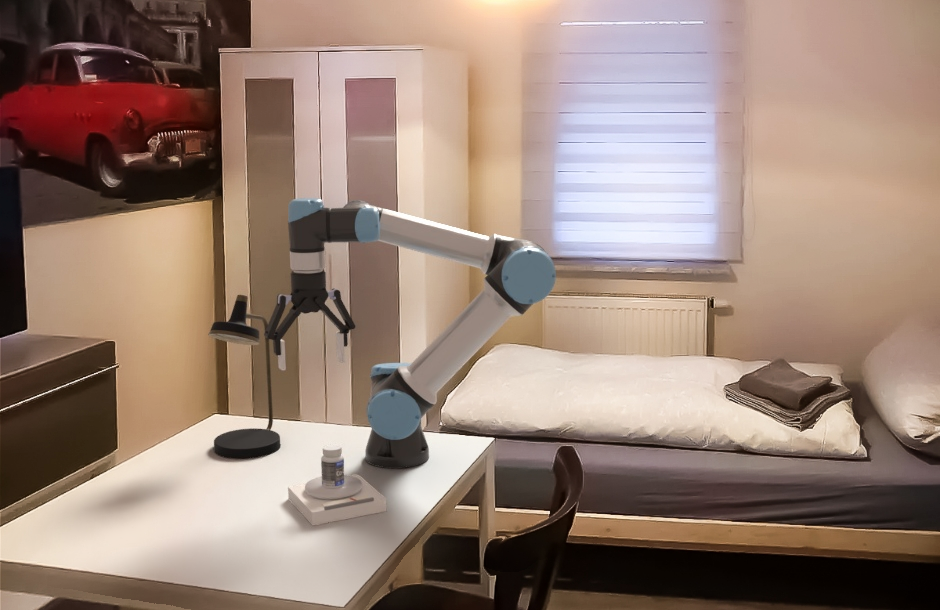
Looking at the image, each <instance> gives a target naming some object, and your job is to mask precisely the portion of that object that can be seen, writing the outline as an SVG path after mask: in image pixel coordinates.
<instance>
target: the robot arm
mask: <svg viewBox="0 0 940 610" xmlns="http://www.w3.org/2000/svg"><path fill="white" fill-rule="evenodd" d="M287 207H288V209H287V211H288V214H287V215H288V217H287V225H288V227H287V228H288V244H289V261H290V263H289V265H290V269H291V270H292V271H291V273H290V287H291V291H290V294H282V293H278V294H277V296H276V305H275V307H274V309H273V312H272V315H271V317H270V319H269V322H267V323H268V326H267V328H266V331H265V330H264V334H263V335H264V338H265V337H266V338H268V339H269V340H272V344H273V345H272V346H273V354H274V355H275V356H277V361H278V362H277V364H278V366H277V367H278V369H279V370H281V371H286V370H287V367H286V366H287V365H286V363H287V362H286V347H285V346H286V344H285V343H286V341H285V340H284V339H283V338H284V336H285V335H286V333H287V332H288V330H289V328H291V326H292V325H293V323H294V322H295V321H296V319H297V318H298V317H300V316H301V314H309V313H318V312H319V311H321V313H323V314H324V316H325V317H327V319H328V320H329V321H330V322H331V323H332V324H333V325H334V326H335V328H336V329H338V330H339V331H335V339H336V340H335V347H336V349H335V350H336V361H338V362H339V363H345V348H346V347H348V342H349V341H348V340H349V339H348V334H349V333H350V331H351V330H355V328H356V325H355V322H354V321H353V319H352V316H351V314H350V313H349V311H348V309H347V308H346V306H345V304H344V302H343V300H342V296H341V295H342V294H341V290H339V289H336V288H332V289H330V290H328V291H327V280H326V279H327V278H326V277H327V276H326V275H327V274H326V271H325V270H324V269H325V268H326V253H325V252H326V250H325V247H326V246H325V243H328V244H330V243H361V244H365V243H374V242H377V241H378V242H381V243H383V244H388V245H392V246H396V247H399V248H402V249H403V248H404V249H407V250H411V251H414V252H418V253H421V254H425V255H429V256H433V257H436V258H440V259H444V260H448V261H451V262H456V263H458V264H462V265H465V266H470V267H473V268H477V269H480V271H481V273H482V274H483V275H485V277H484V279H483V288H482V290H481V291H480V292H479V293H478V294H477V295H476V296H475V298H473V299H472V301H471V302H470V303H468V305H466V306H465V308H463V310H462V311H461V312H460V313H459V314H458V315H456V317H455V318H454V319H453V320H452V321H451V322H450V323H449V324H448V325H447V326H446V327H445V328H444V329H443V330H442V331H441V332H440V333H439V334H438V336H436V338H435V339H433V341H432V342H431V343H430V344H429V345H427V347H426V348H424V349H423V351H422V352H421V353H420V354H419V355H418V356H416V358H415V359H414V360H413V361H412V362H411V363H410V362H385V363H377V364H374V365H373V366H372V367H371V370H370V376H369V378H370V395H369V400H368V403H367V405H366V416H367V420H368V424H369V426H370V427H371V431H370V434H369V437H368V440H367V444H366V446H365V461H366V462H367V463H368V464H370V465H373V466H376V467H379V468H384V469H385V468H386V469H404V468H411V467H415V466H419V465H422V464H423V463H425V462H427V461H428V460H429V458H430V449H429V445H428V442H427V439H426V435H425V433H424V430H423V428H422V418H423V417H424V416H425V415H426V414H427V413H429V411H430V410H431V409H432V408H433V407H434V406H435V405H436V404H437V401H438V400H437V398H438V397H437V396H438V395H437V394H438V392H439V391H440V390H442V388H443V387H444V386H445V385H446V384H447V383H448V382H449V381H450V380H451V379H452V378H453V377H454V375H456V374H457V373H458V372H459V370H461V369H462V368H463V366H464V365H465V364H466V363H468V362H469V360H470V359H471V358H472V357H473V356H475V354H476V353H477V352H479V350H480V349H482V347H483V346H484V345H485V344H486V343H487V342H488V341H489V340H490V339H492V338H491V337H493V336H494V335H495V334H496V333H497V332H498V331H499V330H500V329H501V328H502V326H504V325H505V324H506V322H508V320H509V319H511V318H512V317H517V316H518V317H519V316H523V315H524V314H525V313H526V312H527V311H528V310H529V309H530V308H531V307H532V306H533V304H537V303H540V302H541V301H542V300H544V299H546V298H547V297H548V296H549V295H550V293H551V292H552V290H554V289H553V288H554V286H555V283H556V279H557V278H556V275H557V273H556V271H557V270H556V267H555V264H554V261H553V259H552V257H551V256H550V255H549V254H548V253H547V252H546V251H545V250H544V248H543V247H542V246H541V245H539V244H538V243H536V242H534V241H531V240H526V239H521V238H514V237H510V236H506V235H500V234H496V233H493V234H491V235H490V236H488V235H483V234H479V233H475V232H472V231H468V230H465V229H461V228H458V227H454V226H449V225H447V224H442V223H438V222H435V221H432V220H427V219H424V218H421V217H417V216H413V215H409V214H405V213H403V212H402V213H401V212H397V211H394V210H390V209H386V208H383V207H379V206H375V205H372V204H370V203H367V202H366V201H363V200H358V199H355V200H352V201H349V202H348V203H346V204H345V205H344V206H343V207H325V205H324V201H323V200H322V199H321V198H316V197H314V198H312V197H307V198H306V197H304V198H294V199H292V200H290V201H289V203H288V206H287ZM328 298H329V299H330V300H332V301H333V304H334V305H335V307H336V309H337V311H338V313H339V315H340V316H341V318H342V320H343V322H344V323H343V322H342V321H341V320H340V319H339V318H338V317H337V316H336V315H335V314H334V313H333V311H332V310H331V309H330V308H329V306H328V305H326V301H327V300H328ZM289 302H291V303H292V306H291V307H290V309H289V312H288V313H287V314H286V316H285V317H284V319H283V320H282V322H281V323H280V321H281V319H282V316H283V314H284V312H285V310H286V306H287V305H289ZM279 323H280V324H279Z"/></svg>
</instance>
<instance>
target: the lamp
mask: <svg viewBox="0 0 940 610" xmlns="http://www.w3.org/2000/svg"><path fill="white" fill-rule="evenodd" d="M248 298H249V297H248V296H247V295H243V294H237V296H236V298H235V302H234V305H233V309H232V311H231V314H230V317H229V320H227V321H221V320H220V321H219V320H218V321H214V322H213V323H212V324H211V328H210V330H209V333H208V336H209V337H210V338H213V339H216V340H219V341H223V342H226V343H227V342H228V343H233V344H239V345H244V346H245V345H247V346H259V345H261V341H260V330H259V329H257V328H255V327H253V326H250V325H248V324H247V320H248V319H249V320H252V319H253V320H259V321H262V323H263V327H264V332H265V331H266V328H267V326H268V323H269V322H268V321H267V319H266V317H264V316H262V315H259V314H254V313H248V311H247V310H248ZM264 342H265V343H264V345H265V346H264V347H265V364H266V367H265V368H266V385H267V388H266V389H267V406H268V408H267V409H268V422H267V423H268V424H267V427H266V429H265V428H242V429H241V428H239V429H235V430H230V431H227V432H223V433H220V434H219V435H217V436H216V437H215V438H214V439H213V452H214V454H215V455H217V456H220V457H222V458H225V459H233V460H234V459H235V460H246V459H256V458H261V456H262V457H265V455H266V456H269V455H271V454H274V453H275V452H277V451H279V449H280V448H281V445H282V444H281V436H280V434H279V433H278V432H276V431H274V430H271V429H272V427H273V423H274V414H273V413H274V411H273V409H274V408H273V391H272V390H273V388H272V368H271V350H270V339H268V338H266V337H265V336H264Z"/></svg>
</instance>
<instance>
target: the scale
mask: <svg viewBox="0 0 940 610" xmlns="http://www.w3.org/2000/svg"><path fill="white" fill-rule="evenodd" d="M287 492H288V493H287V494H288V495H287V497H288V501H289V502H291V503H292V505H293V506H294V507H295V508H296V509H297V510H298V511H299V512H300V513H301V515H302V516H303V517H304V518H305V519H306V520H307V521H308V522H309V523H310V524H311V526H317V525H322V524H329V523H334V522H338V521H343V520H344V521H345V520H347V519H353V518H354V519H355V518H358V517H364V516H369V515H373V514H378V513H383V512H387V498H386V497H385V496H384V495H383V494H382V493H380V492H379V490H377V489H376V488H374V486H372V485H371V484H370V483H369V482H367V480H365V479H364V478H363V477H362V476H361V475H359V473H358V474H351V475H347V474H344V485H343V486H342V487H339V488H333V489H332V488H325V487H323V486H322V475H321V476H318V477H315V478H312V479H310V480H308V481H307V482H306V483H302V484H301V483H300V484H297V485H296V484H295V485H291V486H290V485H289V486H287ZM328 522H329V523H328Z"/></svg>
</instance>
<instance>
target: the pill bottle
mask: <svg viewBox="0 0 940 610" xmlns="http://www.w3.org/2000/svg"><path fill="white" fill-rule="evenodd" d="M342 448H343V447H342V446H341V445H339V444H328V445H324V446H323V447H322V456H321V459H320V460H321V464H320V465H321V476H322V486H323V487H325V488H332V489H333V488H339V487H342V486H343V485H344V475H345V457H344V455H343V454H342V453H343V451H342V450H343V449H342Z"/></svg>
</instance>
